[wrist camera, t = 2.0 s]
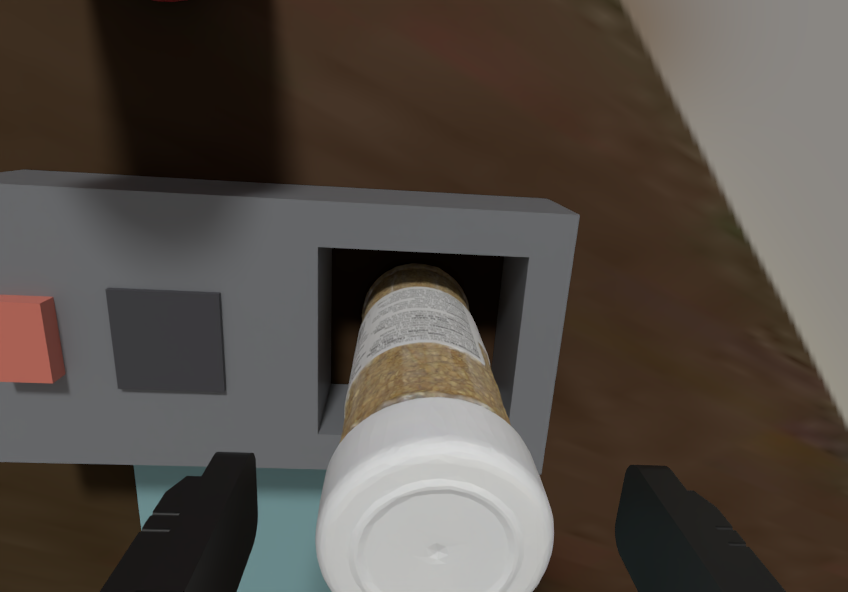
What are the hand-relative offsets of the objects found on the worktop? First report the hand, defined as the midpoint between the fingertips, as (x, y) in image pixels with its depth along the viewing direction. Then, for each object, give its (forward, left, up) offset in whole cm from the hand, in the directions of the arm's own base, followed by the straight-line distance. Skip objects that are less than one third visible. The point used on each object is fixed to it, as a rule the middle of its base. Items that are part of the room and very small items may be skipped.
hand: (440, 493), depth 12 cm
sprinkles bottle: (0, 0, -12) cm, 12 cm away
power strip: (-5, 0, -12) cm, 13 cm away
